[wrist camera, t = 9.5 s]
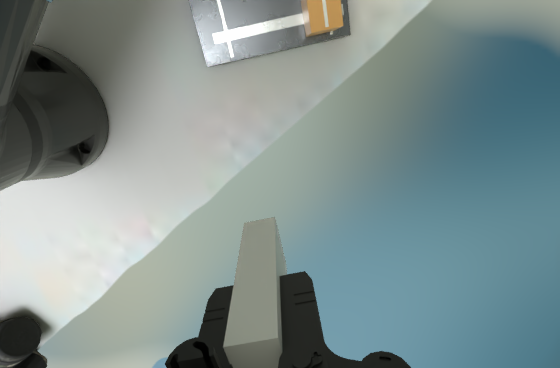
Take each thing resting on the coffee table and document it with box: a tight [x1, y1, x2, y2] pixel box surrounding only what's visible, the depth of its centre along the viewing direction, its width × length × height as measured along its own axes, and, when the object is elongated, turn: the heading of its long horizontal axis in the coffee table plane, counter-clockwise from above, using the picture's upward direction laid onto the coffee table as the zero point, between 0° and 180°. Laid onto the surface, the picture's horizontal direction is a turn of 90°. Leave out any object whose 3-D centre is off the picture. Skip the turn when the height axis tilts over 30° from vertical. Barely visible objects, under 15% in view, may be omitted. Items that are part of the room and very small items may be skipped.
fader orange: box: [301, 0, 343, 37], centre depth 28 cm, size 3×4×4 cm
